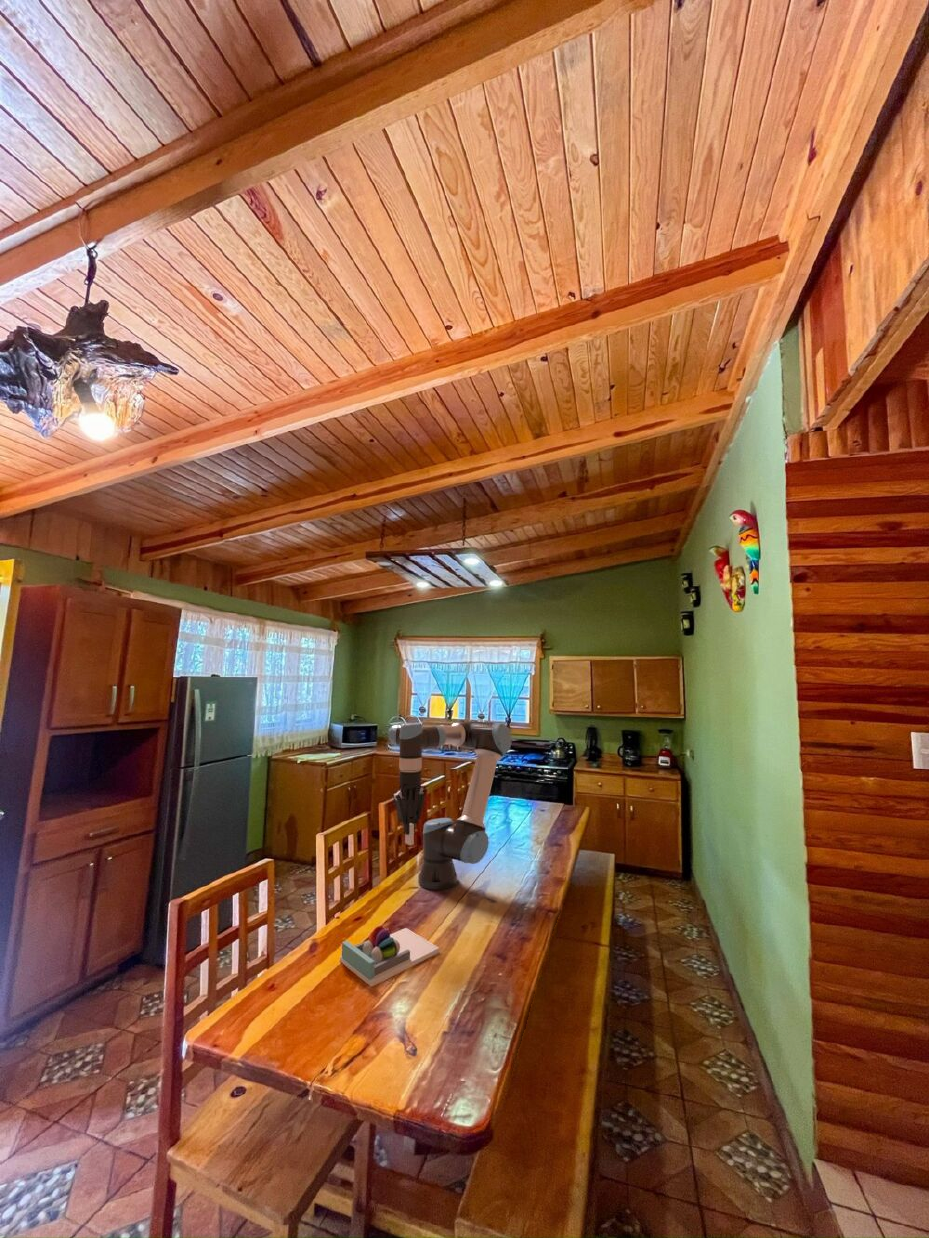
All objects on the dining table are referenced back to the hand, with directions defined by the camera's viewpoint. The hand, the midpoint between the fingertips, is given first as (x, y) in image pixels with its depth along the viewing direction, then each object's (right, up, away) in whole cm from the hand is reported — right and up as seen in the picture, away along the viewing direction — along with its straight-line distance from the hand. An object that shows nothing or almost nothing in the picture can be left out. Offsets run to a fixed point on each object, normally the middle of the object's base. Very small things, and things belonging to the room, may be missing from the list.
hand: (409, 843), depth 160 cm
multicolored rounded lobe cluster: (-5, -20, -24) cm, 32 cm away
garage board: (-3, -22, -22) cm, 31 cm away
